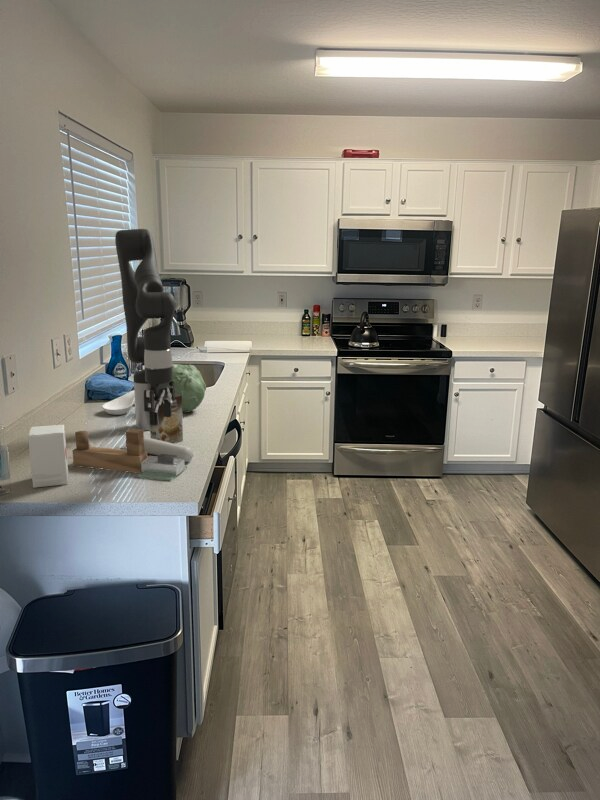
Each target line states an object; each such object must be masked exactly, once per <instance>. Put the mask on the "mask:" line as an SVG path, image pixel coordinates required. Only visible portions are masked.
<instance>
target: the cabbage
mask: <svg viewBox="0 0 600 800" xmlns="http://www.w3.org/2000/svg"><path fill="white" fill-rule="evenodd" d="M172 370H173V380H172V381H174V388H175V394H179V395H181V396H182V414H184V413H189V412H193V411H194V410H196V409H197V408H198V407H199V406H201V403H202V402H203V400H204V398H205V395H206V390H207V385H206V382H205V380H204V378H203V376H202V373H201V372H200V370H199V369H198V368H197V367H196V366H195V365H193V364H180V363H172Z"/></svg>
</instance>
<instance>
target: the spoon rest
mask: <svg viewBox="0 0 600 800" xmlns="http://www.w3.org/2000/svg"><path fill="white" fill-rule="evenodd" d="M134 404H135V394H134V389H133V390H129V392H127V393H125V394H123V395H121V396H119V397H116V398H115V399H112V400H110V401H107V402H105V403H103V404H102V406H101V408H102V410H103V411H104V412H105V413H106V414H109V415H112V416H121V415H122V416H123V415H126V414H127V413H128V412H129V411H130V410H131V409H132V407H133V405H134Z"/></svg>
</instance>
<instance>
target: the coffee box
mask: <svg viewBox="0 0 600 800" xmlns="http://www.w3.org/2000/svg"><path fill="white" fill-rule="evenodd" d="M171 395H172V393H171ZM163 404H164V403H163V401H162V402H161V405H159V407H158V411H157V412H158V425H156V426H155V425H150V430H149V431H150V434H149V435H150V438H151V439H156V440H160V441H164V442H169V443H173V444H176V443H180V442H183V441H184V433H183V431H184V429H183V427H184V426H183V413H182V396H181V395H179V394H175V400H174V401H173V403H172V404H171V408H172V416H171V417H164V409H163ZM154 408H155V405H154ZM175 442H176V443H175Z"/></svg>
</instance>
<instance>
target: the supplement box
mask: <svg viewBox="0 0 600 800" xmlns="http://www.w3.org/2000/svg"><path fill="white" fill-rule="evenodd" d="M27 438H28V447H29V448H28V449H29V458H30V460H29V461H30V469H31V479H32V488H43V487H52V486H62V485H68V483H69V468H68V467H69V466H68V455H67V454H68V453H67V444H66V443H67V442H66V440H67V439H66V432H65V424H54V425H53V424H52V425H40V426H31V427H30V428H29V431H28V435H27Z"/></svg>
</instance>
